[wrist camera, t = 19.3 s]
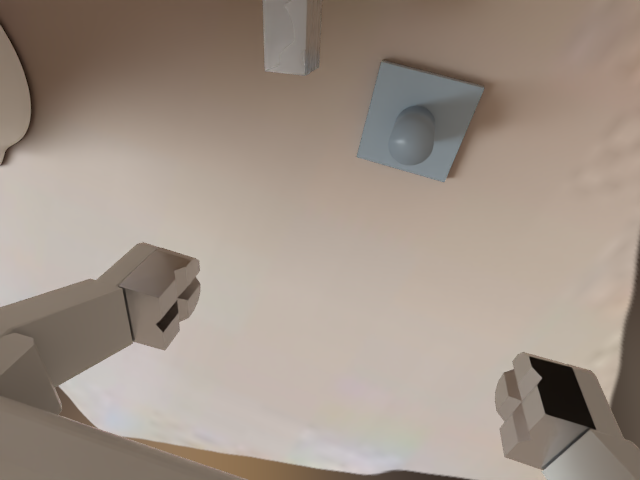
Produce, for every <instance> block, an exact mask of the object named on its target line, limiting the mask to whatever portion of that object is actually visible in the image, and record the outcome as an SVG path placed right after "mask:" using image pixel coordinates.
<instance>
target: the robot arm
mask: <svg viewBox="0 0 640 480" xmlns="http://www.w3.org/2000/svg"><path fill="white" fill-rule="evenodd" d="M30 117H31V101H30V94H29V89H28V84H27V81H26V77H25V74H24V71H23V68H22V66H21V63H20V61H19V58H18V56H17V54H16V52H15V50H14V48H13V46H12V44H11V42H10V40H9V39H8V37H7V35H6V33H5V32H4V30H3V29H2V27H1V25H0V165H1V163H2V161H3V158H4V154H5V151H6V149H7V148H9V147H10V146H12V145H14V144H15V143H17V142H18V141H20V140H21V139H22V138H23V136H24V135H25V133H26V131H27V129H28V126H29V123H30ZM199 271H200V265H199V260H197V259H196V258H193V257H190V256H187V255H183V254H180V253H177V252H174V251H171V250H167V249H164V248H160V247H156V246H153V245H150V244H147V243H144V242H143V243H139V244H137V245H136V246H134V247H133V248H132V249H131V250H130V251H129V252H128V253H126V254H125V255H124V256H123V257H122V258H121V259H120V260H118V261H117V262H116V263H115V264H114V265H113V266H112V267H111V268H109V269H108V270H107V271H106V272H105V273H104V274H103V275H101V276H100V277H99V278H98V279H97V280H93V279H88V280H85V281H82V282H79V283H75V284H72V285H69V286H66V287H63V288H60V289H57V290H53V291H50V292H47V293H44V294H41V295H38V296H35V297H32V298H28V299H25V300H22V301H19V302H16V303H13V304H10V305H6V306H3V307H0V480H247V479H244V478H241V477H238V476H235V475H232V474H230V473H227V472H223V471H221V470H218V469H215V468H212V467H209V466H206V465H203V464H200V463H197V462H194V461H191V460H188V459H186V458H183V457H180V456H177V455H174V454H171V453H168V452H165V451H162V450H159V449H156V448H153V447H150V446H147V445H144V444H141V443H138V442H135V441H133V440H130V439H127V438H124V437H121V436H118V435H115V434H112V433H109V432H106V431H103V430H100V429H97V428H94V427H92V426H89V425H86V424H82V423H80V422H77V421H74V420H71V419H68V418H65V417H62V416H59V415H58V414H59V413H60V412H61V411H62V404H61V401H60V399H59V397H58V394H57V392H56V390H55V387H57V386H58V385H60V384H62V383H64V382H65V381H67V380H69V379H71V378H73V377H74V376H76V375H78V374H80V373H81V372H83V371H85V370H87V369H88V368H90V367H92V366H94V365H96V364H97V363H99V362H101V361H103V360H104V359H106V358H108V357H110V356H111V355H113V354H115V353H117V352H119V351H120V350H122V349H124V348H126V347H127V346H129V345H131V344H133V342H137V343H140V344H144V345H147V346H151V347H154V348H158V349H162V350H166V349H167V347H168V346H169V345H170V343H171V342H172V340H173V339H174V338H175V336H176V335H177V333H178V332H179V331H180V328H179V322H180V321H183V320H185V319H187V318H189V317H190V315H191V314H192V312H193V311H194V309H195V307H196V305H197V302H198V300H199V296H200V283H199V281H198V280H197V278H196V275H197V274H198V273H199ZM512 362H513V366H514V369H513V370H510V371H507V372H505V373H503V375H502V376H501V378H500V379H499V381H498V384H497V387H496V391H495V404H496V411H497V412H498V414H499V415H500V416H501V418H502V419H503V420H504V423H503V425H502V426H501V427H500V434H501V440H502V446H503V451H504V457H506V458H509V459H512V460H515V461H518V462H521V463H524V464H526V465H529V466H532V467H535V468H538V469H541V470H543V471H542V473H543V474H544V476H545V477H546V479H547V480H640V449H639V448H638V447H637V446H636V445H635V444H634V443H633V442H632V441H628V440H625V439H624V438H623V435H622V433H621V431H620V429H619V427H618V424H617V422H616V420H615V418H614V415H613V413H612V411H611V409H610V406H609V404H608V402H607V400H606V397H605V395H604V393H603V391H602V388H601V386H600V384H599V382H598V379H597V377H596V376H595V374H594V373H593V372H592V371H591V370H587V369H583V368H580V367H576V366H572V365H569V364H564V363H561V362H557V361H554V360H550V359H546V358H543V357H539V356H536V355H532V354H528V353H525V352H522V353H520V354H518V355H517V356H516V357H515V359H514V360H513V361H512Z"/></svg>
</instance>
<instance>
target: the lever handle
mask: <svg viewBox="0 0 640 480" xmlns="http://www.w3.org/2000/svg"><path fill="white" fill-rule="evenodd" d="M321 14H322V0H263V27H264V64H265V71H267V72H276V73H285V74H293V75H302V76H305V75H307V74H309V73H310V72H312V71H314V70H315V69H317V68H319V56H320V35H321Z"/></svg>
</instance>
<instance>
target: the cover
mask: <svg viewBox="0 0 640 480" xmlns="http://www.w3.org/2000/svg"><path fill="white" fill-rule="evenodd" d="M483 91H484V86H482V85H478V84H474V83H470V82H466V81H462V80H459V79H455V78H451V77H447V76H443V75H439V74H435V73H431V72H427V71H423V70H420V69H416V68H412V67H408V66H404V65H400V64H396V63H392V62H388V61H385V60H382V62H381V65H380V69H379V72H378V76H377V80H376V84H375V88H374V92H373V96H372V99H371V103H370V107H369V111H368V115H367V119H366V123H365V126H364V130H363V134H362V138H361V142H360V146H359V150H358V153H357V157H358V158H362V159H365V160H369V161H372V162H376V163H379V164H382V165H386V166H389V167H393V168H396V169H400V170H403V171H407V172H410V173H414V174H417V175H421V176H424V177H427V178H431V179H434V180H438V181H441V182H445V180H446V178H447V175H448V173H449V170H450V168H451V166H452V163H453V161H454V159H455V156H456V154H457V152H458V149H459V147H460V145H461V142H462V140H463V138H464V135H465V133H466V131H467V128H468V126H469V124H470V121H471V119H472V117H473V114H474V112H475V109H476V107H477V105H478V102H479V100H480V98H481V95H482V93H483Z"/></svg>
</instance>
